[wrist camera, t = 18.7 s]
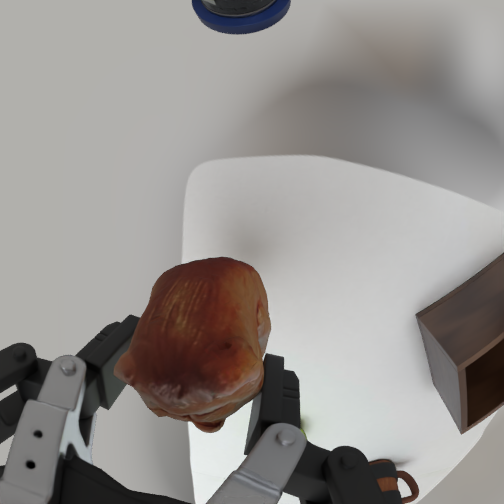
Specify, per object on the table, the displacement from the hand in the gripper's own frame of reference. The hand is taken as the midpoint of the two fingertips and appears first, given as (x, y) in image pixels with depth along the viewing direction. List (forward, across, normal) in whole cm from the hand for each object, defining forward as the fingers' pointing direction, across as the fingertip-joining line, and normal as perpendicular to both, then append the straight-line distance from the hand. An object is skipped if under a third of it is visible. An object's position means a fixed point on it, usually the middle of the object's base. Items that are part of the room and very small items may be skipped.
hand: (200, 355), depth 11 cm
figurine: (+11, 0, 0) cm, 11 cm away
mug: (+18, -33, +36) cm, 52 cm away
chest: (+18, -31, +3) cm, 36 cm away
